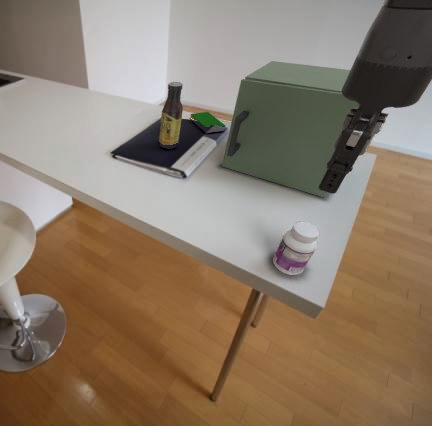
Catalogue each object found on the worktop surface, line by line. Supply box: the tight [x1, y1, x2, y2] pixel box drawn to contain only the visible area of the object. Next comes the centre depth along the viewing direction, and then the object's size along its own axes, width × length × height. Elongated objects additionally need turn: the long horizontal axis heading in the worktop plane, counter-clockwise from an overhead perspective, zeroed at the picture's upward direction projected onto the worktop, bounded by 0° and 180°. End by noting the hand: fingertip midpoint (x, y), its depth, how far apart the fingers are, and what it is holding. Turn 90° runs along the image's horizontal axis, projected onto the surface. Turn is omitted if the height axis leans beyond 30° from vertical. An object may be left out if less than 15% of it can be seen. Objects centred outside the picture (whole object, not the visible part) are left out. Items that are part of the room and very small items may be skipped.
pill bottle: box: [272, 221, 321, 276], centre depth 52 cm, size 5×5×10 cm
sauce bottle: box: [158, 81, 184, 145], centre depth 88 cm, size 6×6×20 cm
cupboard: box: [244, 60, 351, 93], centre depth 75 cm, size 18×26×24 cm
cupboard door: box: [221, 78, 359, 198], centre depth 68 cm, size 7×26×24 cm, turn 51°
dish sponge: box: [189, 111, 226, 128], centre depth 105 cm, size 7×14×2 cm, turn 12°
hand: (332, 180), depth 43 cm, fingers open, 5 cm apart
